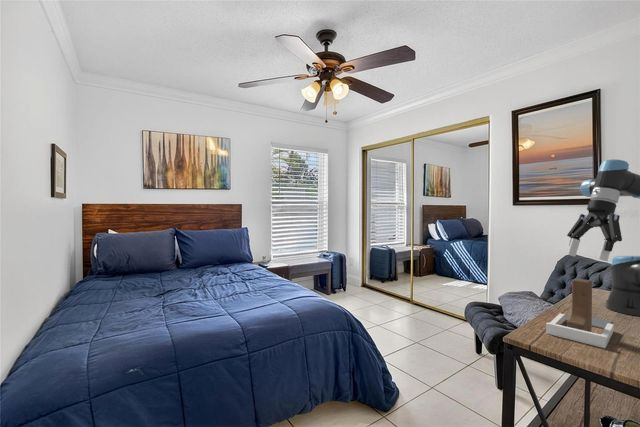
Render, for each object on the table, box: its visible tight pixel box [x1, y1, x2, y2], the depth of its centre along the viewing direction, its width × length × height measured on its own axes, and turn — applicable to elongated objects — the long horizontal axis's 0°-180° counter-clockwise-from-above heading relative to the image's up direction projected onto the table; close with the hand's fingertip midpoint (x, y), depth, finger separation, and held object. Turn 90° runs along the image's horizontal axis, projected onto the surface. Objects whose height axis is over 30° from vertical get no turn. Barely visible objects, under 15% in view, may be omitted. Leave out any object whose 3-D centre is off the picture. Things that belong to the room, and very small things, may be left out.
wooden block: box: [566, 278, 593, 332], centre depth 105 cm, size 9×4×18 cm, turn 125°
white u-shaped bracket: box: [545, 312, 615, 349], centre depth 106 cm, size 20×15×4 cm
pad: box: [564, 313, 613, 330], centre depth 116 cm, size 11×12×1 cm
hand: (585, 257), depth 111 cm, fingers open, 13 cm apart
